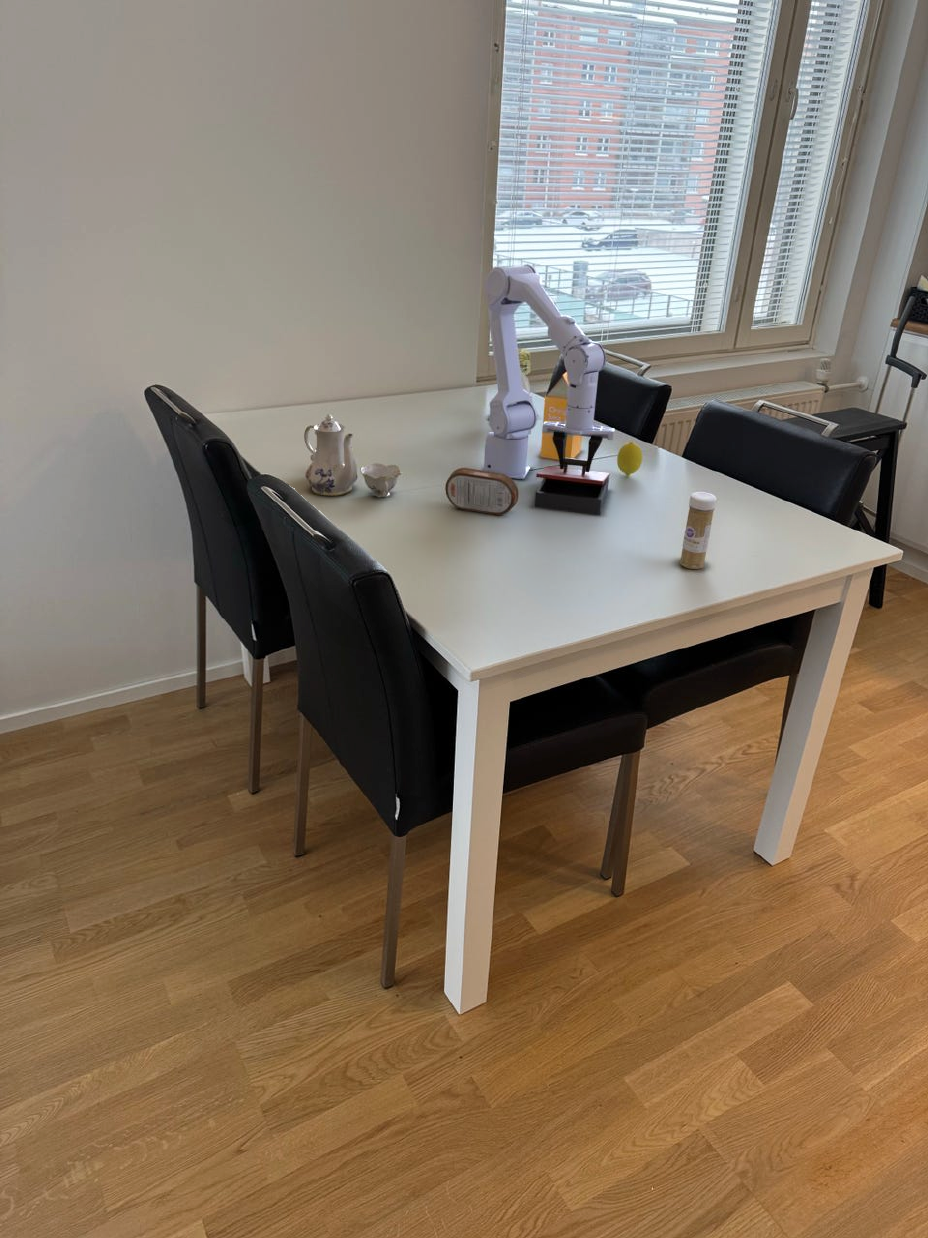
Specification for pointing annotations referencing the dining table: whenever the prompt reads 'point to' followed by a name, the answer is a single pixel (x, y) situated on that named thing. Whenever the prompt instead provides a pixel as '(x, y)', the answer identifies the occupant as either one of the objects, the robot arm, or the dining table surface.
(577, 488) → the dark grey open tray
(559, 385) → the orange juice
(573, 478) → the lid
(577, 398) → the robot arm
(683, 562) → the sprinkles bottle
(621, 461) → the lemon
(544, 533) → the dining table surface
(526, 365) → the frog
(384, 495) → the chinaware
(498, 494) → the tin
